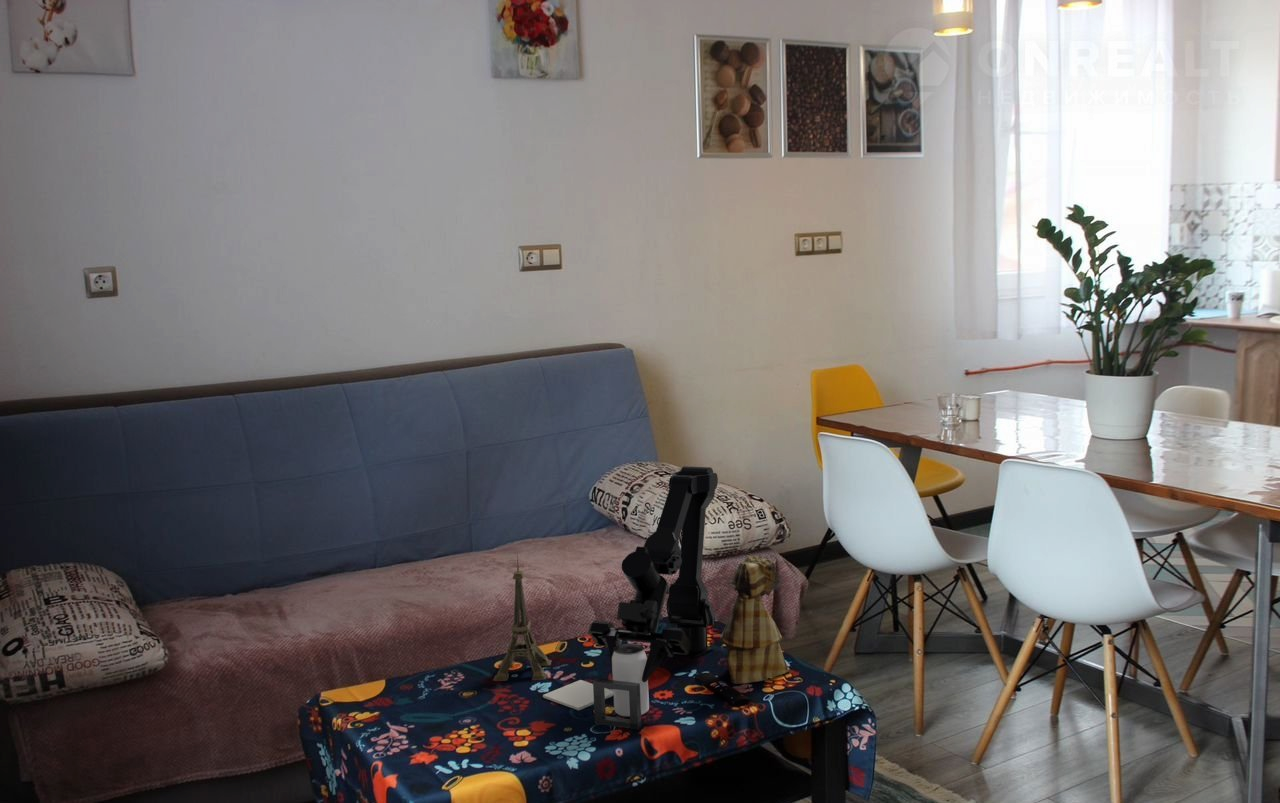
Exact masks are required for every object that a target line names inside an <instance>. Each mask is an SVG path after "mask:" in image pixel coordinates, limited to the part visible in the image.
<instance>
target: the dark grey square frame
mask: <svg viewBox="0 0 1280 803" xmlns="http://www.w3.org/2000/svg"><path fill="white" fill-rule="evenodd" d="M592 684H593V693H594V704H593V712H594V724H595V725H602V726H609V727H616V728H617V727H618V728H624V729H625V728H626V729H632V730H639V729H640V728H642V715H641V702H640V683H632V682H624V681H616V680H613V679H605V678H599V677H597V678H595V679H594V680H593V681H592ZM604 688H607V689H610V690H613V689H618V690H626V691H629V704H630V717H629V719H628V718H625V717H624V718H623V717H617V716H616V717H614V716H607V715H606V699H605V691H604Z"/></svg>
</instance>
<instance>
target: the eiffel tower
mask: <svg viewBox="0 0 1280 803" xmlns="http://www.w3.org/2000/svg"><path fill="white" fill-rule="evenodd" d="M516 558H517V560H516V562H517V563H516V564H517V566H516V571H514V572H513V576H512V579H513V580H515V581H514V582H515V584H514V604H513V605H514V606H513V608H514V609H513V623H512V625H511V626H510V631H512V635H511V640H510V643H509V645H508V647H507V648H506V650H507V652H506V654H505V656H504V657H503V660H501V661H500V664H499V669H498V671H497V673H496V674H495V675H494V678H493V679H492V681H493V682H505V681H506V682H507V681H508V679H509V676H510V673H509V671H510V668H511V667H512V668H513V666H514V665H515V660H516V659H519V658H520V659H521V658H522V659H526V660H527V661H528V662H529V664H530V666H531V671H532V676H531V680H532V681H546V680H547V678H548V673H546V671H544V668H542V667H551V665H552V661H553V660H550V659H549V658H548V657H547V655H546V654H545V653H544V651H543V650H542V649H541V648H540V647H539V646H538V645H537V644H536V643H537V639H535V638H534V637H533V634H532V632H531V625H532V623H531V620H528V615H527V607H526V598H525V593H524V586H523V579H524V577H525V574H524V571H523V570H520V569H519V559H518V558H519V557H518V554H516ZM521 635H522V636H523V639H524V640H519V641H518V637H519V636H521Z"/></svg>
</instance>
